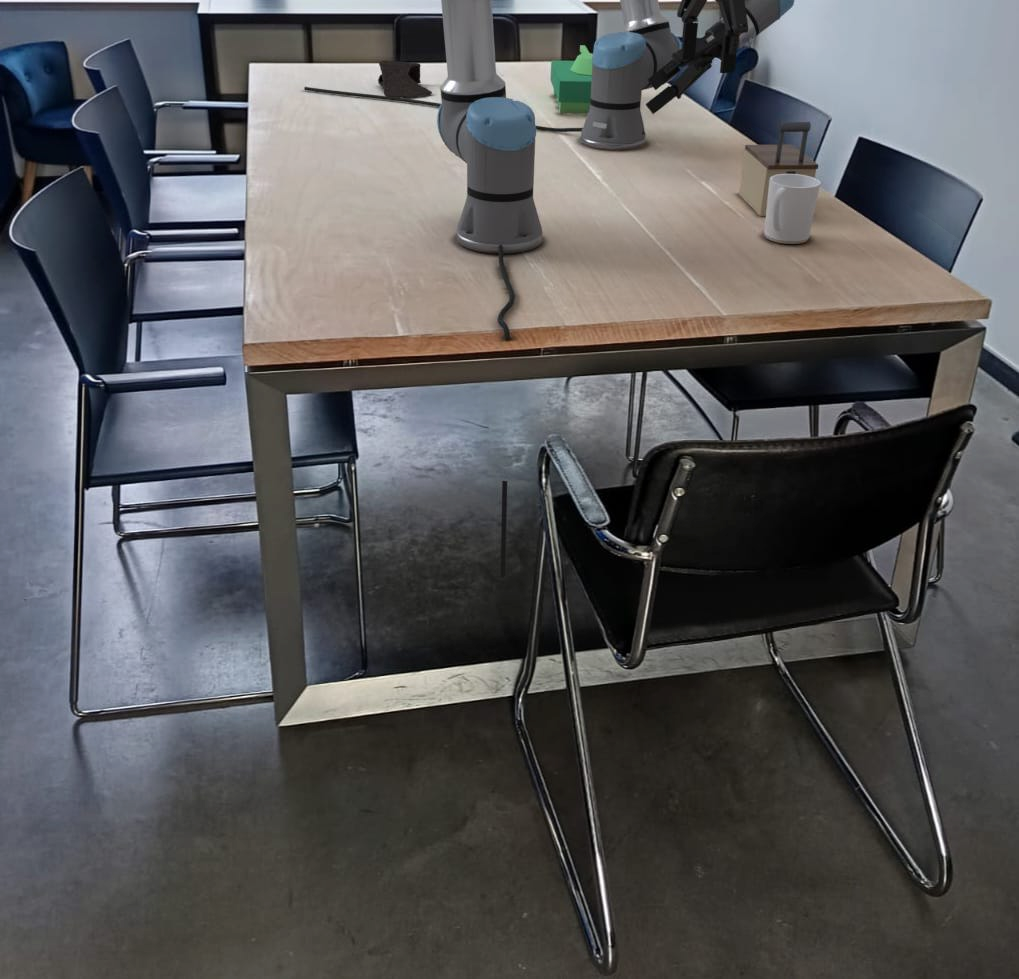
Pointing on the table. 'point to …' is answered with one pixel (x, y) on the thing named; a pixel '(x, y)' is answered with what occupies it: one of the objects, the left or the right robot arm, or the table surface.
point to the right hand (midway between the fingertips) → (650, 97)
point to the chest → (761, 181)
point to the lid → (784, 150)
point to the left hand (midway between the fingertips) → (706, 66)
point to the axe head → (401, 79)
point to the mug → (790, 208)
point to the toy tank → (573, 83)
